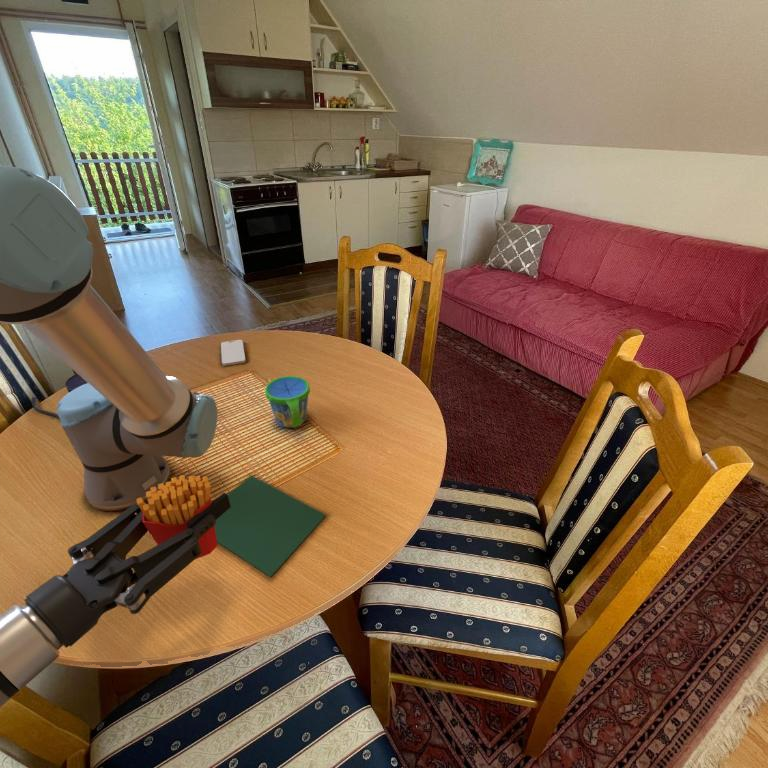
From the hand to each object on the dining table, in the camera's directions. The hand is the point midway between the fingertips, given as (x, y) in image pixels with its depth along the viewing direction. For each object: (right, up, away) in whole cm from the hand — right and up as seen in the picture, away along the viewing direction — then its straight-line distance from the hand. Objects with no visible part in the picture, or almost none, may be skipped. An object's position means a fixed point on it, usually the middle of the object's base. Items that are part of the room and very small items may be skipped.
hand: (212, 491), depth 63 cm
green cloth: (+2, -10, +16) cm, 19 cm away
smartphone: (-23, +26, +72) cm, 80 cm away
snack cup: (+2, +7, +43) cm, 43 cm away
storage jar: (-40, +5, +38) cm, 56 cm away
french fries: (-3, -9, 0) cm, 9 cm away
